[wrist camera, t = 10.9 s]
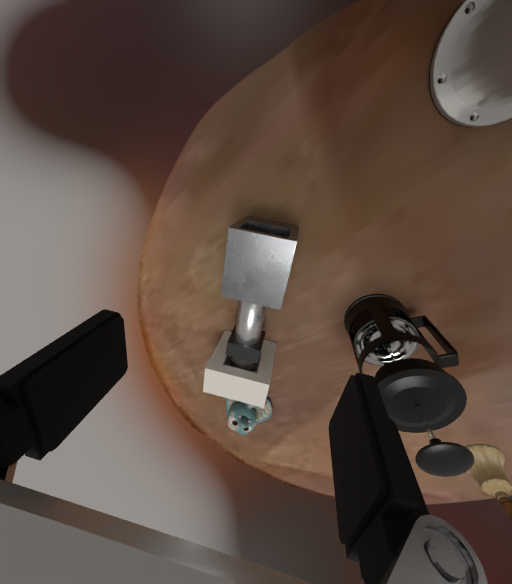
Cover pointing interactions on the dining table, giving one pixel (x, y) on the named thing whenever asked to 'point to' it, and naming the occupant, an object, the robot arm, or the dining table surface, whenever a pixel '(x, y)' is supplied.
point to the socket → (239, 375)
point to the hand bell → (491, 473)
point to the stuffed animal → (246, 415)
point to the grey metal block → (258, 261)
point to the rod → (247, 336)
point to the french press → (412, 379)
